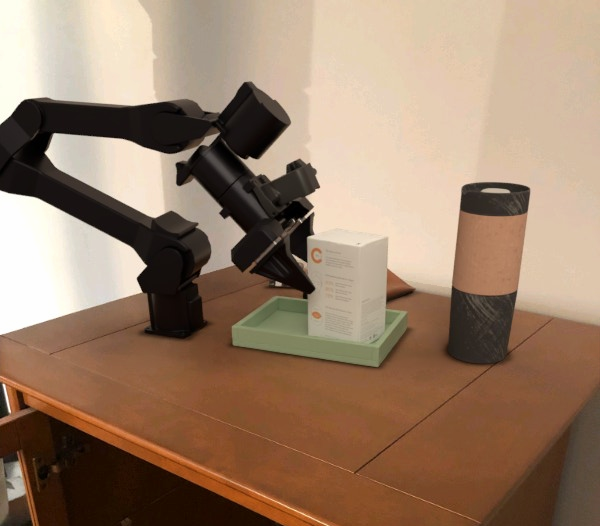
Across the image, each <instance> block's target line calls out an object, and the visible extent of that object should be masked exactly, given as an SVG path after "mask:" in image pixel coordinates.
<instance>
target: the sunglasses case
mask: <svg viewBox="0 0 600 526" xmlns="http://www.w3.org/2000/svg"><path fill="white" fill-rule="evenodd" d="M416 290H417V289H416V288H415V287H413V286H411V285H410V284H408V283H407V282H406V281H405V280H403V279H402V278H400V277H399V276H398V275H397V274H395V273H394V272H393V271H392V270H390V269H389V268H388V267H387V286H386V302H389V301H392V300H395V299H398V298H400V297H402V296H404V295H407V294H409V293H412V292H413V291H416ZM302 299H307V300H308V294H306V293H304V292H302Z"/></svg>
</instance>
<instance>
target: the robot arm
mask: <svg viewBox="0 0 600 526" xmlns="http://www.w3.org/2000/svg"><path fill="white" fill-rule="evenodd" d="M291 124H292V121H291V118H290V116H289V115H288V113H287V111H286V110H285V108H284V107H283V106H282V105H281V104H280V103H279V101H277V100H276V99H273V98H272V97H271V96H270V95H269V94H267V93H266V92H265V91H263V90H262V89H261V88H258V87H257V86H256V84H255V83H253V81H251V80H250V81H249V80H248V81H244V82H243V83H242V84H240V87H239V88H238V89H237V91H236V93H235V95H234V97H233V98H232V99H231V100H230V101H229V103H228V104H227V105H226V107H225V108H224V109H222V111H221V112H220V111H218V112H213V111H208V110H203V109H202V107H201V106H200V105H199V103H198V102H196V101H194V100H193V99H189V98H180V99H173V100H166V101H158V102H152V103H151V102H150V103H143V104H137V105H128V104H116V103H102V102H100V103H99V102H90V101H89V102H86V101H75V100H74V101H73V100H60V99H54V98H50V97H48V96H45V97H42V96H41V97H33V98H25V99H23V100H22V101H21V102H19V104H18V105H17V106H16V107H15V108H14V109H13V111H12V113H11V114H10V115H9V116H8V117H7V118H6V119H5V120H4V121H2V122H1V123H0V192H3V193H6V194H9V195H15V196H21V197H30V198H35V199H37V200H39V201H42V202H44V203H45V204H47V205H49V206H51V207H54V208H55V209H57V210H59V211H60V212H63V213H65V214H67V215H69V216H71V217H73V218H75V219H76V220H79V221H80V222H82V223H84V224H86V225H88V226H90V227H92V228H94V229H96V230H98V231H100V232H101V233H103V234H105V235H108V236H109V237H111V238H113V239H115V240H117V241H118V242H121V243H122V244H124V245H127V246H129V247H130V248H132V250H133V251H134V252H135V253H136V255H137V256H138V257H139V259H140V260H141V261H142V263H143V264H144V265H145V266H146V267H144V269H143V270H142V271H141V272H140V273H139V274H138V275H137V277H136V281H137V283H138V286H139V288H140V290H141V292H142V293H143V294H146V298H147V306H148V313H149V314H148V316H149V323H150V324H149V325H147V326H145V327H144V328H143V331H144V333H146V334H154V335H160V336H167V337H173V338H181V339H183V338H184V339H185V338H187V337H188V336H190V335H192V334H193V333H194V332H196V331H197V330H199V329H201V328H203V327H204V326H205V325H207V324H208V320H207V319H206V318H204V310H203V309H204V307H203V297H202V295H201V294H200V293H199V284H198V282H197V283H195V282H193V281H194V280H196V279H198V278H199V277H200V276H201V273H202V270H203V269H202V268H204V267H205V266H207V264H208V263H209V261H210V259H211V256H212V251H213V250H212V244H211V242H210V240H209V236H208V234H206V232H205V231H203V230H202V229H201V228H199V227H198V226H199V222H196V221H191V220H188V219H186V218H184V217H183V216H182V215H180V214H179V213H178V212H176V211H174V210H169V211H166V212H165V213H163V214H160V215H159V216H157V217H153V216H150V215H148V214H145V213H144V212H141V211H140V210H138V209H136V208H134V207H132V206H130V205H128V204H126V203H125V202H122V201H120V200H119V199H116V198H115V197H113V196H111V195H109V194H107V193H105V192H103V191H102V190H99V189H97V188H95V187H93V186H92V185H90V184H88V183H85V182H84V181H82V180H80V179H78V178H76V177H74V176H73V175H70V174H69V173H67V172H64V171H62V170H61V169H59V168H58V167H56V166H55V164H54V163H53V162H52V161H51V159H50V158H49V156H48V155H47V151H48V150H49V148H50V147H51V146H50V145H51V143H52V140H53V137H54V135H55V134H58V135H70V136H81V137H83V136H84V137H91V138H92V137H95V138H105V139H117V140H123V141H127V142H131V143H134V144H135V145H138V146H140V147H142V148H144V149H149V150H150V151H155V152H159V153H162V154H167V155H175V154H179V153H182V152H186V151H189V150H191V149H195V148H196V149H195V151H194V152H193V153H192V154H191V155H190V156H189V158H188V159H187V160H180V161H177V162H175V164H174V166H175V171H176V175H175V184H176V186H177V187H181V186H184V185H187V184H189V183H192V181H193V180H194V181H196V183H197V184H198V185H199V186H201V188H202V189H203V190H204V191H205V192H206V193H207V194H208V195H209V196H210V197H211V199H212V200H214V202H215V203H216V204H217V205H218V206H219V207H220V208H221V210H220V211H219V212H218V214H219V215H220V217H222V219H223V220H226V219H228V218H230V219H232V221H233V222H234V223H235V224H236V225H237V226H238V227H239V228H240V229H241V230H242V231H243V233H244V234H245V235H243V236H242V237H241V239H240V240H239V241H238V242H237V243H236V244H235V245H234V246H233V247H232V248H231V249H230V259H231V260H230V261H231V263H233V265H234V266H235V267H236V268H237V269H238V270H239V271H240V272H241V273H242V274H243V273H244V272H245V271H247V270H248V269H249V268H250V267H251V266H252V265H253V263H255V265H254V266H253V267H252V268H251V269H250V270H249V271H248V273H249V274H250V275H258V276H260V277H263V278H266V279H269V280H274V281H277V282H279V283H282V284H284V285H287V286H286V287H289V288H292V289H293V290H297V291H300V292H302V293H303V292H304V293H306V294H311V293H312V292H314V291H315V289H316V288H315V286H314V285H313V283H312V281H311V280H310V278H309V277H308V276H307V272H306V271H305V270H304V268H303V269H302V267H301V266H300V265H299V263H298V260H297V259H296V258H298V259H299V260H301V261H303V262H304V263H306V264H307V237H309V236H312V235H316V234H315V232H314V221H315V220H314V219H315V218H314V217H315V211H313V212H311V211H312V210H313V209H314V208H315V205H314V204H312V202H311V201H310V200H309V199H308V198H307V197H309V196H310V195H312V194H313V193H315V192H316V190H319V189H321V185H320V182H319V181H318V178H317V175H318V171H317V168H315V167H314V166H312V164H311V162H308V163H306V162H305V161H303V160H302V159H301V158H298V159H295V160H293V161H290V162H288V163H287V164H286V166H285V174H282V175H281V176H279V177H277V178H273V180H270V179H269V177H268V176H267V175H266V174H262V173H260V174H258V175H256V174H255V173H254V172H253V171H252V170H251V168H249V166H248V165H247V164H246V163H245V162H244V161H247V160H249V158H252V159H253V160H258V161H259V160H260V159H261V158H262V157H263V156H264V155H265V153H266V152H267V151H268V150H269V149H270V148H271V147H272V146H273V145H274V144H275V142H276V141H277V140H278V139H279V138H280V137H281V136H282V135H283V134H284V133H285V131H287V129H288V128H289V127H290V126H291ZM214 135H217V136H216V137H215V138H214V139H213V140H212V142H211V143H210V144H209V145H205V144H202V143H203V142H204V141H205V139H206V138H208V137H211V136H214ZM243 160H244V161H243ZM310 212H311V213H310ZM309 213H310V214H309ZM308 214H309V215H308ZM307 215H308V216H307ZM306 216H307V217H306Z"/></svg>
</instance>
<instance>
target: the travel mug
mask: <svg viewBox="0 0 600 526" xmlns="http://www.w3.org/2000/svg"><path fill="white" fill-rule="evenodd" d="M530 197H531V187H529V186H527V185H524V184H520V183H512V182H501V181H480V182H470V183H466V184H464V185H463V186H461V190H460V203H459V211H458V220H457V221H458V222H457V232H456V241H455V250H454V259H453V269H452V280H451V292H450V293H451V294H450V306H449V307H450V309H449V325H448V340H447V341H448V342H447V351H448V354H449V355H450V356H451V357H453V358H455V359H457V360H459V361H461V362H466V363H469V364H478V365H480V364H481V365H482V364H483V365H485V364H486V365H487V364H494V363H498V362H501V361H503V360H504V359H505V358H506V356H507V353H508V348H509V344H510V343H509V342H510V337H511V331H512V326H513V319H514V313H515V308H516V302H517V297H518V292H519V291H518V290H519V284H520V276H521V267H522V260H523V253H524V244H525V237H526V229H527V222H528V214H529V205H530Z"/></svg>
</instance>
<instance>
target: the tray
mask: <svg viewBox="0 0 600 526" xmlns="http://www.w3.org/2000/svg"><path fill="white" fill-rule="evenodd" d="M408 314H409V312H408V310H398V309H389V308H386V313H385V332H384V333H383V335H382V336H381V337H380V338H379V339H377V340H375V341H374V342H372V343H370V344H368V343H361V342H354V341H347V340H340V339H333V338H325V337H318V336H311V335H308V300H307V299H303V298H298V297H289V296H282V295H281V296H280V295H273V297H271V298H270V299H269V300H267V301H266V302H264V303H263V304H262V305H259V306H258V307H257V308H256V309H254V310H253V311H252V312H250V313H249V314H247V315H246V316H245V317H243V318H242V319H240V320H239V321H237V322H236V323H234V324H233V325H231V341H232V342H231V343H232V346H235V347H241V348H247V349H248V348H249V349H254V350H261V351H267V352H273V353H281V354H288V355H293V356H301V357H307V358H314V359H321V360H326V361H333V362H340V363H345V364H346V363H347V364H354V365H359V366H360V365H361V366H367V367H374V368H379V366H381V364H382V363H383V361H384V360H385V359H386V357H388V355H389V354H390V352H391V351H392V349H394V347H395V345H396V344H397V343H398V342H399V340H400V339H401V338H402V337H403V335H404V333H405V332H406V331H407V329H408V317H409V315H408Z"/></svg>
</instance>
